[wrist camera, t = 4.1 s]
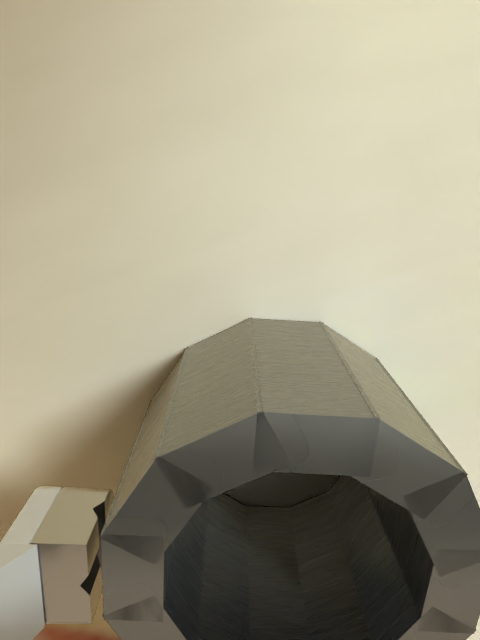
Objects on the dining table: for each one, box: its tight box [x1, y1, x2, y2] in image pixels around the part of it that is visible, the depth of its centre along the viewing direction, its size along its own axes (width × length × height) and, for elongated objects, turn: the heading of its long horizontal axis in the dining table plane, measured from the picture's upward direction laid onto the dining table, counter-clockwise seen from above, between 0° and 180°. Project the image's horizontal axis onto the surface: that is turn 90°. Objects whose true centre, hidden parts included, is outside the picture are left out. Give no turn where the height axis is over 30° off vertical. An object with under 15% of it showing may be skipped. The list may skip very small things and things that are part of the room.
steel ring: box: [100, 318, 480, 640], centre depth 10 cm, size 6×6×4 cm
